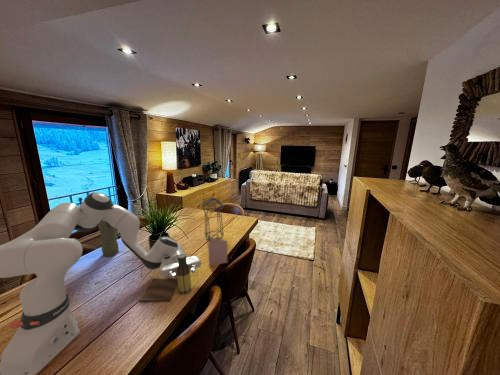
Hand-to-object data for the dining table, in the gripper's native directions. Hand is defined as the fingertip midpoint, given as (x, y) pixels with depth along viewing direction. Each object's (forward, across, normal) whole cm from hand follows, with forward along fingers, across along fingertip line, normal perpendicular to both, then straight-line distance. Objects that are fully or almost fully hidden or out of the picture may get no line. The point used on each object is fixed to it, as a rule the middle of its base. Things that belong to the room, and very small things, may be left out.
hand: (184, 274), depth 97 cm
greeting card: (-15, -23, -10) cm, 29 cm away
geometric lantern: (-45, -31, -10) cm, 55 cm away
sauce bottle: (-1, 0, -10) cm, 10 cm away
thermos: (-59, +36, -11) cm, 70 cm away
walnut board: (-7, +10, -10) cm, 16 cm away
